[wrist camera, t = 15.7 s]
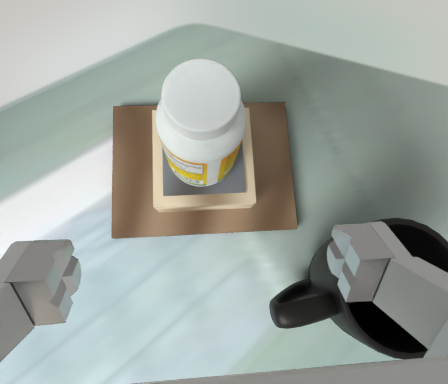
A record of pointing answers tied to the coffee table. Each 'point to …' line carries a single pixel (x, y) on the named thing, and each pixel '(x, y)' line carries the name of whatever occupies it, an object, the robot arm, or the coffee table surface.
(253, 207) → the wooden stand
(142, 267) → the coffee table surface
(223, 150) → the supplement bottle
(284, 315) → the mug
